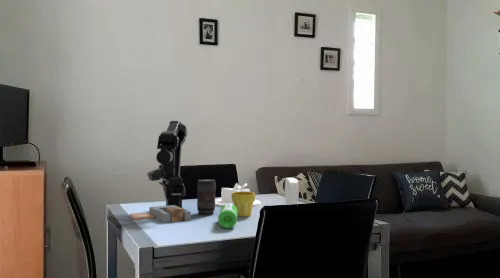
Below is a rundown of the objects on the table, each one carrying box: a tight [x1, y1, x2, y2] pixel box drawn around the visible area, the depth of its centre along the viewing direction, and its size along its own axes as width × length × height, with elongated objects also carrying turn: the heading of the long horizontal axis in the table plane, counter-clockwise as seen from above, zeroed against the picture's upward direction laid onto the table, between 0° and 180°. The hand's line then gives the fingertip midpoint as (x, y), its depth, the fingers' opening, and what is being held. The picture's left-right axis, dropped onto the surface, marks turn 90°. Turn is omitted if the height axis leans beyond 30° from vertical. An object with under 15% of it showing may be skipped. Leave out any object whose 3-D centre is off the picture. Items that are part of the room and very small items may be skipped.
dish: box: [215, 182, 262, 208], centre depth 230 cm, size 25×25×11 cm
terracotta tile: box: [128, 211, 155, 221], centre depth 191 cm, size 8×9×1 cm
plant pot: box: [232, 191, 256, 218], centre depth 199 cm, size 10×10×10 cm
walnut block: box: [166, 207, 184, 223], centre depth 186 cm, size 5×6×5 cm
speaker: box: [217, 203, 238, 229], centre depth 179 cm, size 18×7×8 cm, turn 1°
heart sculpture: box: [284, 177, 300, 206], centre depth 184 cm, size 16×5×18 cm, turn 2°
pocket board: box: [148, 205, 192, 224], centre depth 191 cm, size 11×18×4 cm, turn 31°
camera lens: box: [196, 179, 217, 216], centre depth 201 cm, size 8×8×15 cm
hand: (167, 199), depth 193 cm, fingers closed
